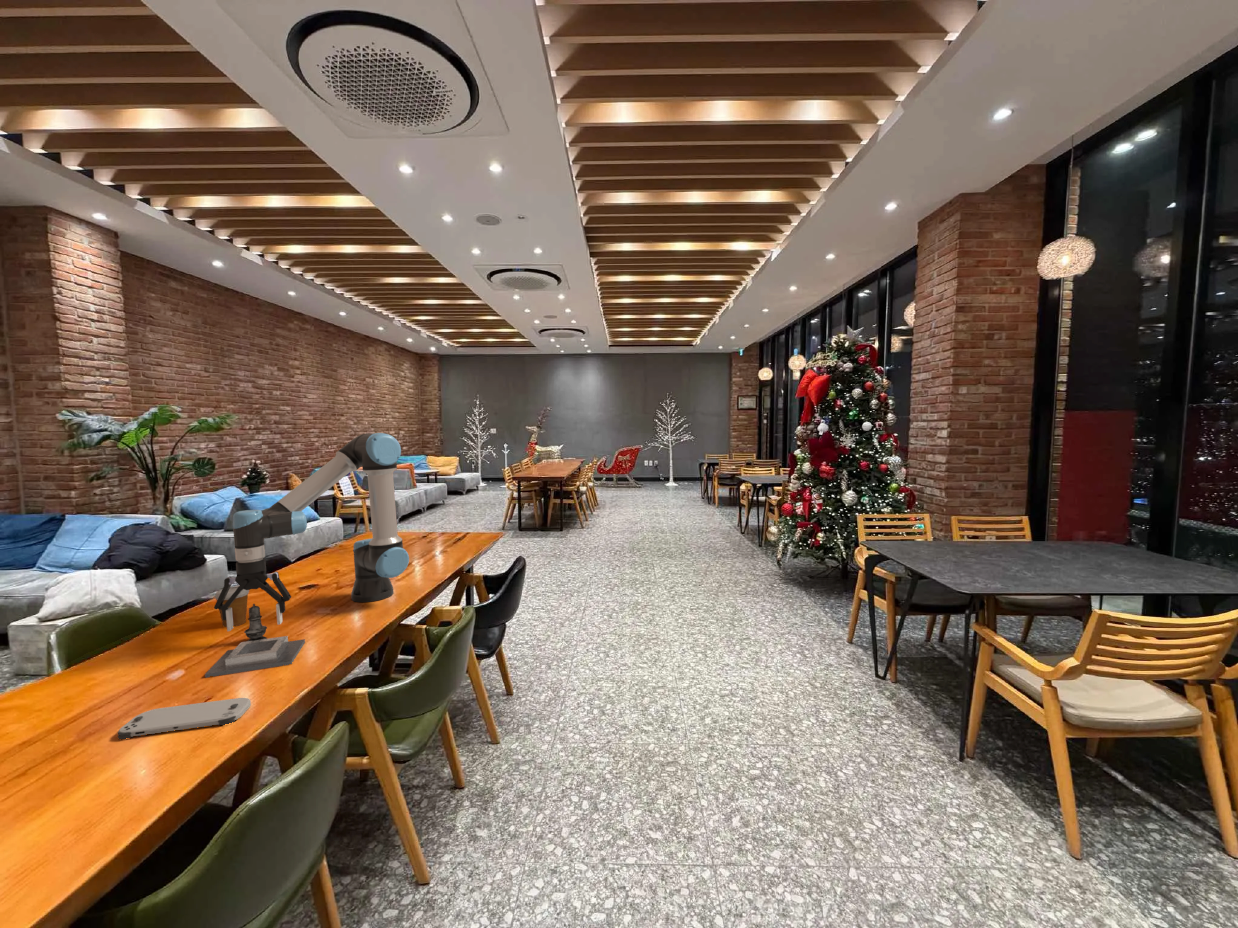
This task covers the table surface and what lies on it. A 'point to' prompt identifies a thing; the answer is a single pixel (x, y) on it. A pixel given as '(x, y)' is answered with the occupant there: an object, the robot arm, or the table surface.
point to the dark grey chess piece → (255, 625)
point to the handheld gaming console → (185, 717)
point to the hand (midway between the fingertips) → (255, 626)
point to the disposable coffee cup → (235, 606)
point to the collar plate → (279, 662)
